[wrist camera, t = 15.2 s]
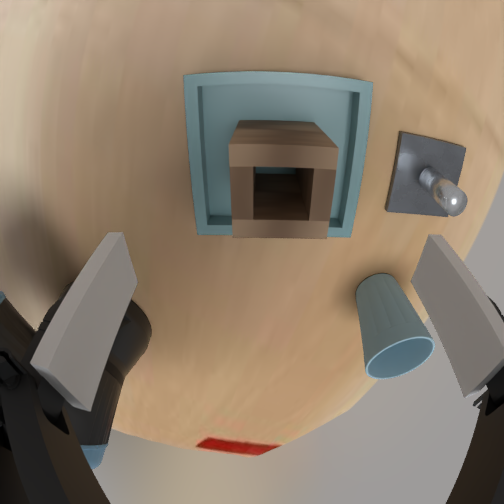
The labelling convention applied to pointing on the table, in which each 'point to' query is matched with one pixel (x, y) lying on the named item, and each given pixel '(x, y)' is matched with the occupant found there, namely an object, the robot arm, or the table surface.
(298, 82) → the tray
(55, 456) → the robot arm
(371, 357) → the cup
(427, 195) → the knob mounting plate
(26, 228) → the table surface
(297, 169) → the bored block
